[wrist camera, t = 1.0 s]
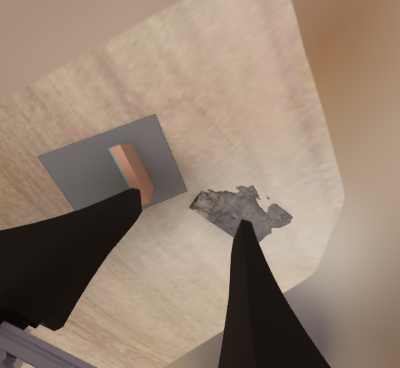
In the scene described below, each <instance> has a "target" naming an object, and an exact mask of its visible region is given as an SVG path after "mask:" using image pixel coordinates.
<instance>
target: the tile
mask: <svg viewBox="0 0 400 368" xmlns="http://www.w3.org/2000/svg"><path fill="white" fill-rule="evenodd" d="M109 151H110V153H111V154H112V156H113V158H114V160H115V162H116V164H117V166H118V167H119V169H120V171H121V173H122V175H123V177H124V178H125V180H126V182H127V184H128V186H129V188H136V189H139V190H140V194H141V203H142V205H145V204H147V203H150V200H151V197H152V193H153V190H154V186H153V184H152V182H151V180H150V178H149V176H148V174H147V172H146V169H145V167H144V165H143V163H142V161H141V159H140V157H139V155H138V153H137V151H136V149H135V147H134V145H133V143H131V144H120V145H117V146H115V147H112V148H109Z"/></svg>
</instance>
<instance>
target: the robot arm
mask: <svg viewBox="0 0 400 368" xmlns="http://www.w3.org/2000/svg"><path fill="white" fill-rule="evenodd" d="M141 212H142V203H141V194H140V190H139V189H136V188H130V189H128V190H125V191H123V192H121V193H118V194H116V195H114V196H112V197H109V198H107V199H105V200H102V201H100V202H97V203H95V204H92V205H90V206H87V207H85V208H82V209H80V210H77V211H74V212H71V213H68V214H65V215H62V216H58V217H55V218H51V219H48V220H44V221H40V222H36V223H33V224H28V225H24V226H20V227H15V228H10V229H5V230H0V368H21V366H22V364H23V362H26V363H28V364H30V365H32V366H34V367H35V368H97V367H95V366H93V365H91V364H89V363H87V362H85V361H83V360H81V359H79V358H77V357H75V356H73V355H71V354H69V353H67V352H65V351H63V350H61V349H59V348H57V347H55V346H53V345H51V344H49V343H47V342H45V341H43V340H41V339H39V338H37V337H35V336H33V335H31V334H29V333H30V331H31V330H30V329H29V328H28V326H31V327H33V328H37V327H38V326H39V324H41V325H43V326H45V327H47V328H49V329H51V330H53V331H56V330H58V329H60V328H62V327H63V326H64V324H65V322H66V321H67V319H68V317H69V315H70V314H71V312H72V310H73V308H74V307H75V305H76V303H77V302H78V300H79V298H80V297H81V295H82V293H83V292H84V290H85V289H86V287H87V285H88V284H89V282H90V281H91V279H92V278H93V276H94V275H95V273H96V272H97V270H98V269H99V267H100V266H101V264H102V263H103V261H104V260H105V259H106V257H107V256H108V254H109V253H110V252H111V251H112V249H113V248H114V247H115V246H116V244H117V243H118V242H119V241H120V240H121V239H122V237H123V236H124V235H125V234H126V233H127V232H128V230H129V229H130V228H131V227H132V226H133V224H134V223H135V222H136V220H137V219H138V217H139V215H140V214H141ZM218 368H331V367H330V366H329V365H328V363H327V362H326V360H325V359H324V357H323V356H322V355H321V353H320V352H319V350H318V349H317V347H316V346H315V344H314V343H313V342H312V340H311V339H310V337H309V336H308V334H307V333H306V331H305V329H304V328H303V326H302V325H301V323H300V322H299V320H298V318H297V317H296V315H295V314H294V312H293V310H292V309H291V308H290V306H289V304H288V302H287V301H286V299H285V297H284V295H283V294H282V292H281V290H280V288H279V286H278V284H277V282H276V281H275V279H274V277H273V275H272V273H271V270H270V268H269V266H268V264H267V262H266V260H265V257H264V255H263V252H262V250H261V247H260V245H259V242H258V240H257V237H256V234H255V231H254V228H253V224H252V222H251V221H247V220H244V219H241V222H240V224H239V227H238V229H237V232H236V234H235V237H234V239H233V245H232V252H231V265H230V285H229V299H228V306H227V314H226V321H225V328H224V335H223V341H222V347H221V354H220V360H219V366H218Z"/></svg>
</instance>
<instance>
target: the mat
mask: <svg viewBox="0 0 400 368" xmlns="http://www.w3.org/2000/svg"><path fill="white" fill-rule="evenodd" d="M131 143H133V145H134V147H135V149H136V151H137V153H138V155H139V157H140V159H141V161H142V163H143V165H144V167H145V169H146V172H147V174H148V176H149V178H150V180H151V182H152V184H153V186H154V190H153V193H152V197H151V200H150V203H147V204H145V205H142V209H144V208H147V207H149V206H152V205H154V204H157V203H159V202H162V201H164V200H166V199H169V198H171V197H174V196H176V195H179V194H181V193H184V192H186V191H187V190H186V187H185V185H184V182H183V180H182V178H181V175H180V173H179V170H178V168H177V166H176V163H175V161H174V158H173V156H172V153H171V151H170V149H169V146H168V144H167V141H166V139H165V137H164V134H163V132H162V129H161V127H160V124H159V122H158V120H157V117H156V115H155V114H154V115H151V116H148V117H145V118H143V119H140V120H137V121H134V122H132V123H129V124H126V125H123V126H121V127H118V128H115V129H112V130H109V131H107V132H104V133H101V134H98V135H96V136H93V137H90V138H87V139H85V140H82V141H79V142H76V143H74V144H71V145H68V146H65V147H63V148H60V149H57V150H54V151H52V152H49V153H46V154H43V155H41V156H38V158H39V160H40V161H41V162H42V164H43V165H44V167H45V168H46V170H47V171H48V172H49V174H50V175H51V177H52V178H53V180H54V181H55V182H56V184H57V185H58V187H59V188H60V190H61V191H62V192H63V194H64V195H65V197H66V198H67V199H68V201H69V202H70V204H71V205H72V207H73V208H74V209H75V211H77V210H80V209H82V208H85V207H87V206H90V205H92V204H95V203H97V202H100V201H102V200H105V199H107V198H109V197H112V196H114V195H116V194H118V193H121V192H123V191H125V190H128V189H130V188H129V186H128V184H127V182H126V180H125V178H124V177H123V175H122V173H121V171H120V169H119V167H118V166H117V164H116V162H115V160H114V158H113V156H112V154H111V153H110V151H109V148H112V147H115V146H117V145H120V144H131Z"/></svg>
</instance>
